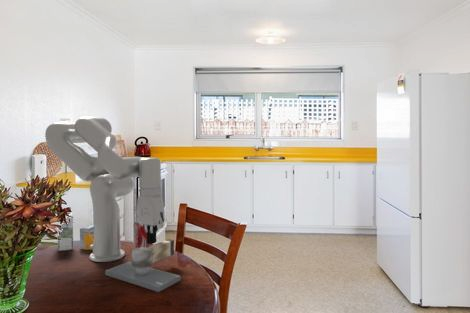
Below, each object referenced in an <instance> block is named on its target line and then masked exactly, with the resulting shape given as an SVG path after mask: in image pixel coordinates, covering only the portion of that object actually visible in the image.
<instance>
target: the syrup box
mask: <svg viewBox="0 0 470 313" xmlns="http://www.w3.org/2000/svg"><path fill="white" fill-rule="evenodd" d="M69 213H70V214H69V216H71V217H72V218H69V217H67V219H70V222H68V221H67V223H68V226H67V225H66V224H62V225H61V226H62V229H63V231H62V232H61V236H58V235H57V252H64V251H73V250H74V220H73V219H74V217H73V215H74V214H73V212H69ZM58 238H60V239H61V240H58Z"/></svg>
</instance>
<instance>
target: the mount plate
mask: <svg viewBox="0 0 470 313" xmlns="http://www.w3.org/2000/svg"><path fill="white" fill-rule="evenodd" d="M104 274H105V276H106V277H107V276H108V277H111V278H113V279H116V280H119V281H123V282H126V283H130V284H133V285H136V286H139V287H141V288H144V289H148V290H151V291H154V292H156V293H159V292H161V291H164V290H165V289H167V288H169V287H171V286H173V285H175V284H176V283H179V282H181V281H182V280H181V275H179V274H175V273H172V272H169V271H165V270H161V269H157V268H153V267H151V266H147V267H140V268H139V267H134V266H132V261H126V262H124V263H121V264H119V265H116V266H114V267H111V268H109V269H108V268H107V269H105V271H104Z"/></svg>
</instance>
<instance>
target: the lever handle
mask: <svg viewBox="0 0 470 313" xmlns="http://www.w3.org/2000/svg"><path fill="white" fill-rule="evenodd" d="M174 255H175V240H174V239H171V238H167V239H165V240H163V241H161V242H158V243H157V242H156V243H153V245H152V246H149V247H147V248H145V247H143V248H136V249H135V248H134V249H133V250H131V262H132V266H134V267H139V268H140V267H147V266H149V267H151V265H152V264H154V263H157V262H159V261H161V260H163V259H165V258H167V257H171V256H174Z"/></svg>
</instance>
